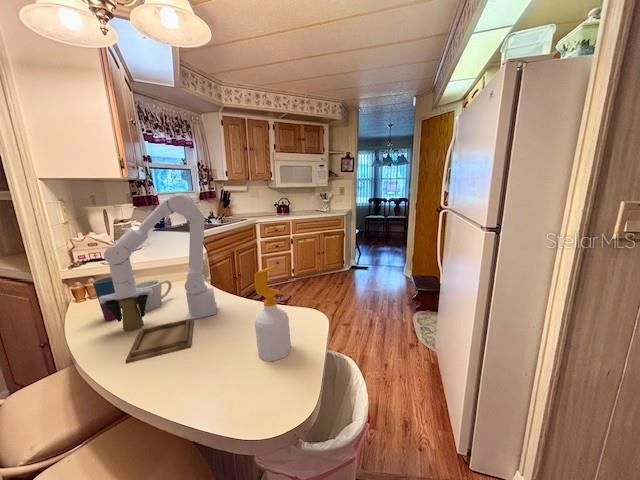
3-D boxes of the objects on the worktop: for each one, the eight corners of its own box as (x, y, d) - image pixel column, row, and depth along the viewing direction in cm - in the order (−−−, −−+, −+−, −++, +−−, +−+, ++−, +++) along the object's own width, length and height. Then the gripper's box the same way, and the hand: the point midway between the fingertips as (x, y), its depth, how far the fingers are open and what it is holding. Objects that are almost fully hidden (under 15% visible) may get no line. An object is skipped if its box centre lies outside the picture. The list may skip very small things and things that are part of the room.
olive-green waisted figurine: (148, 324, 92) (142, 295, 90) (129, 333, 87) (123, 302, 84) (137, 321, 95) (131, 292, 92) (119, 330, 89) (112, 299, 87)
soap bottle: (276, 365, 68) (267, 275, 63) (251, 355, 73) (241, 270, 67) (297, 347, 75) (291, 264, 70) (273, 338, 80) (265, 260, 75)
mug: (129, 310, 104) (124, 286, 102) (166, 295, 116) (162, 274, 114) (144, 315, 99) (138, 290, 97) (181, 299, 111) (177, 277, 109)
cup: (112, 323, 94) (103, 283, 91) (97, 321, 96) (87, 282, 93) (129, 313, 101) (121, 276, 98) (114, 312, 102) (106, 276, 99)
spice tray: (193, 322, 92) (192, 316, 92) (190, 347, 78) (189, 340, 77) (140, 333, 86) (138, 328, 86) (126, 363, 72) (124, 356, 71)
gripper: (151, 273, 93) (158, 308, 96) (101, 280, 88) (110, 317, 91) (147, 279, 87) (154, 317, 90) (92, 287, 82) (102, 327, 85)
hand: (131, 318), depth 90 cm, fingers open, 6 cm apart
